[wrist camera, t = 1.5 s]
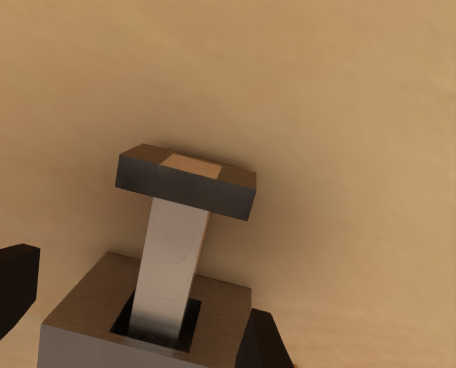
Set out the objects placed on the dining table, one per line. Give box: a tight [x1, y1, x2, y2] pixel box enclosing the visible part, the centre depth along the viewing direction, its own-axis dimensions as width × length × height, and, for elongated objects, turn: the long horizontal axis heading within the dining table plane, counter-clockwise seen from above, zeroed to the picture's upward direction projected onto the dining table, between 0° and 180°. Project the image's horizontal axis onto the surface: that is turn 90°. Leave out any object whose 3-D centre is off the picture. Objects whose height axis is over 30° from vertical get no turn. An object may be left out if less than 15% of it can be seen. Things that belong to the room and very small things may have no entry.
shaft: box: [115, 144, 256, 350], centre depth 18 cm, size 6×23×3 cm, turn 166°
